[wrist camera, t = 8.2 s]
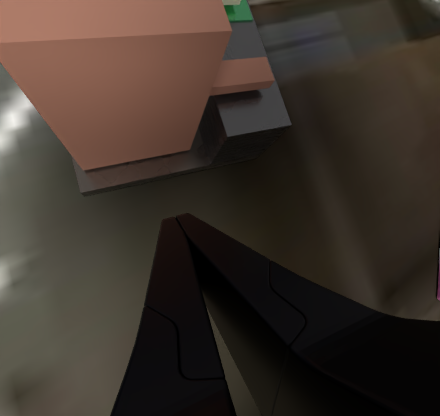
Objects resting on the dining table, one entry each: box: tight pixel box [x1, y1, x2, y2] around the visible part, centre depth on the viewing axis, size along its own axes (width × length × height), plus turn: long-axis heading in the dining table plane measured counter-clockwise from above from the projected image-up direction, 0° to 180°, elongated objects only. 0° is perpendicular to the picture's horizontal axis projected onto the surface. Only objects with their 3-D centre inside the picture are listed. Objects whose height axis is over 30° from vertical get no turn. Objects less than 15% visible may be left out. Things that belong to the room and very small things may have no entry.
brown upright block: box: [0, 0, 275, 170], centre depth 13 cm, size 4×12×10 cm, turn 108°
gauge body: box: [71, 0, 292, 197], centre depth 17 cm, size 12×13×6 cm
